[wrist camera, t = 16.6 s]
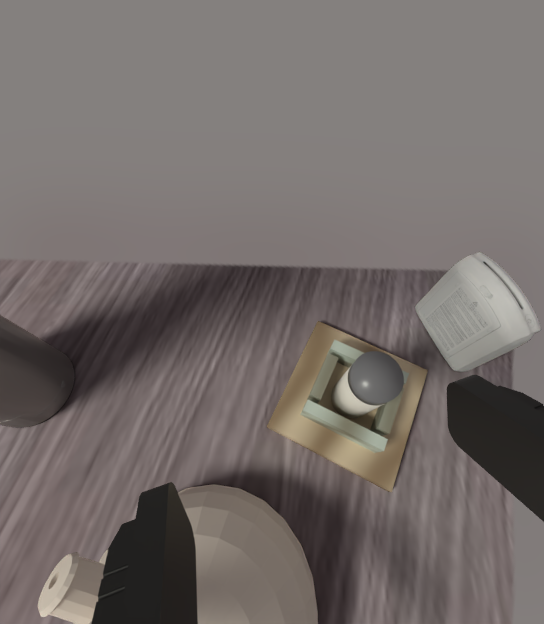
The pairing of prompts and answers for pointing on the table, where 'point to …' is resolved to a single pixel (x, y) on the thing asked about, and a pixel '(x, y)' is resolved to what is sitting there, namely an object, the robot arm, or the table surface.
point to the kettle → (213, 566)
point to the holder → (336, 428)
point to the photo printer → (477, 313)
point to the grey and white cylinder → (367, 384)
